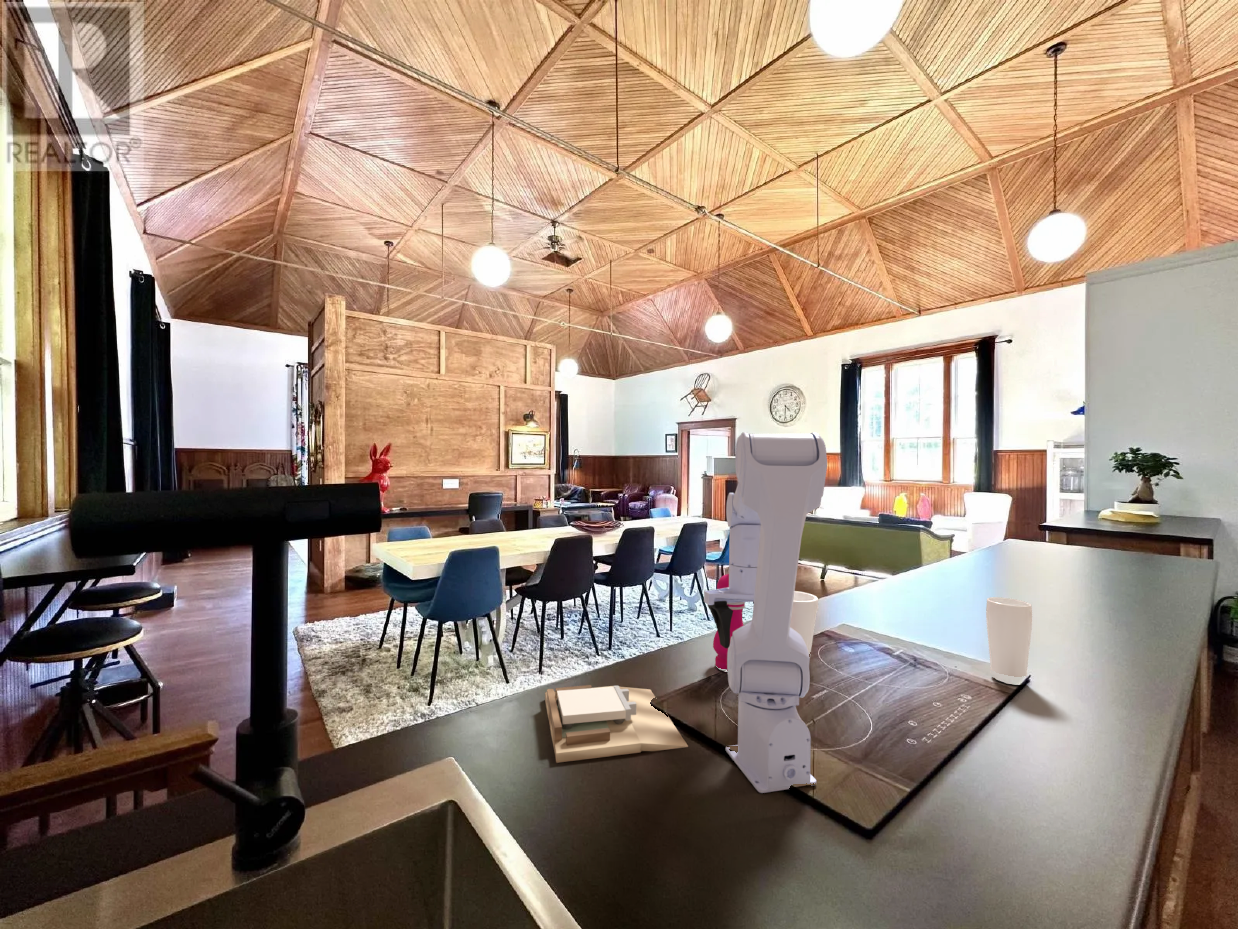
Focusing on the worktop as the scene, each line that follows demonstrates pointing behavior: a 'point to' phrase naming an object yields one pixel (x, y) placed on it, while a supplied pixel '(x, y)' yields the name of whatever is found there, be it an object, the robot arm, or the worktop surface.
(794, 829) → the worktop surface
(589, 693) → the white tabbed block
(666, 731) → the dock
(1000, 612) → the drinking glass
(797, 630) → the foam cup
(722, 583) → the pepper mill
